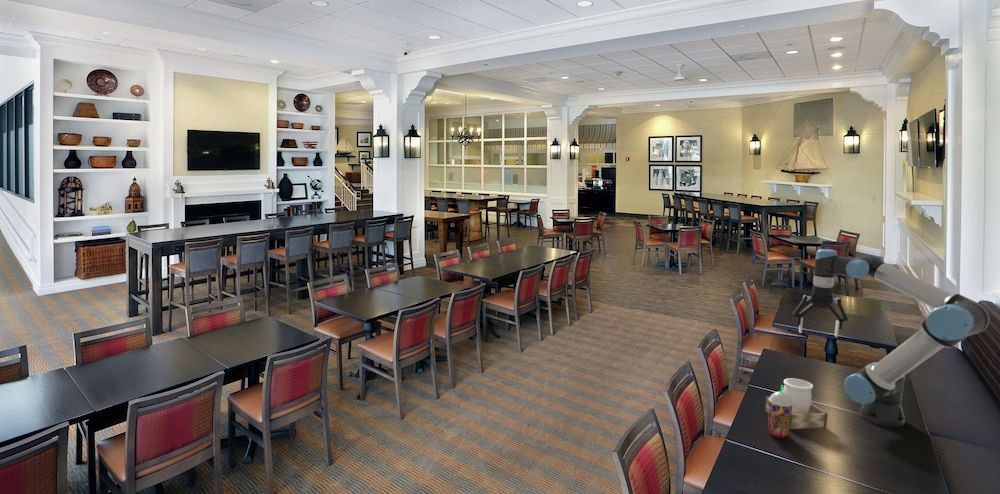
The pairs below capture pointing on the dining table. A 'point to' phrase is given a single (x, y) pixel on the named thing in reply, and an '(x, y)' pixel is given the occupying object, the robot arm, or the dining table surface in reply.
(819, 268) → the robot arm
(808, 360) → the dining table surface
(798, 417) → the crate
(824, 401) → the dining table surface
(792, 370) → the dining table surface
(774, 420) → the smoothie
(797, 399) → the jar
